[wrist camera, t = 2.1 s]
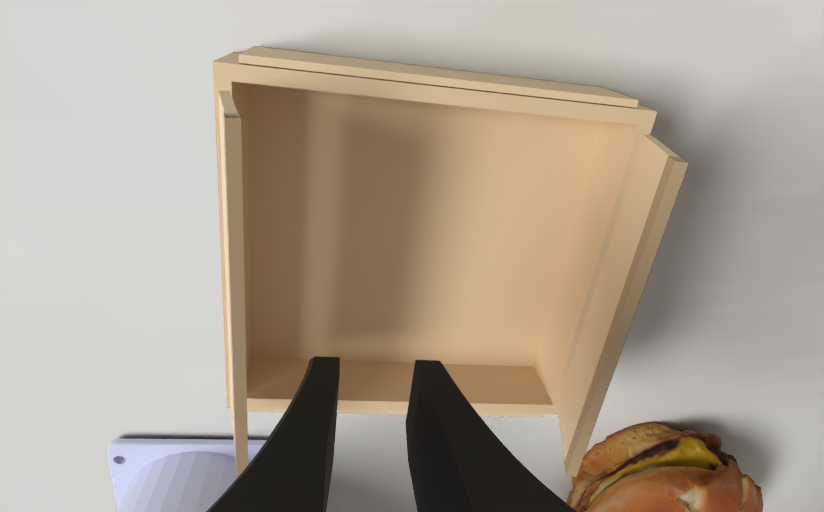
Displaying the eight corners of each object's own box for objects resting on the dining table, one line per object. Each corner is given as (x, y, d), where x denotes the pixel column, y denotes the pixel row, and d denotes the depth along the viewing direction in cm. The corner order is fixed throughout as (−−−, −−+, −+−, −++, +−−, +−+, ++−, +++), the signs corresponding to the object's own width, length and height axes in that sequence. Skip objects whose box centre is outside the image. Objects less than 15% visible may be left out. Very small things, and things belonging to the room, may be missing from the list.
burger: (582, 554, 33) (616, 635, 28) (536, 460, 28) (568, 539, 24) (734, 494, 32) (793, 569, 27) (708, 389, 28) (773, 458, 23)
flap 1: (217, 90, 15) (224, 118, 12) (230, 90, 15) (240, 118, 12) (229, 403, 20) (237, 477, 17) (239, 402, 20) (248, 474, 17)
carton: (537, 374, 25) (560, 418, 23) (241, 365, 23) (227, 412, 21) (618, 88, 20) (660, 103, 17) (233, 43, 18) (212, 51, 15)
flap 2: (565, 410, 22) (576, 477, 19) (556, 408, 22) (566, 475, 19) (653, 136, 17) (688, 163, 14) (641, 134, 17) (675, 161, 14)
